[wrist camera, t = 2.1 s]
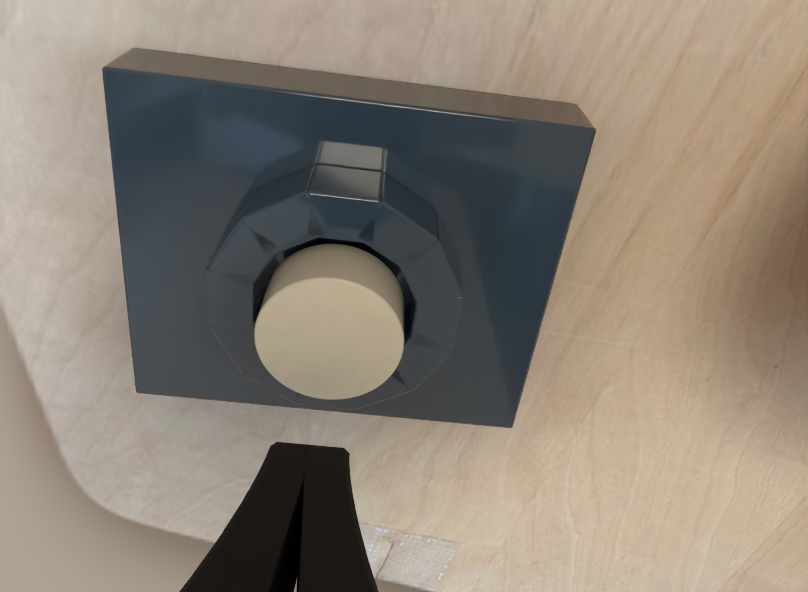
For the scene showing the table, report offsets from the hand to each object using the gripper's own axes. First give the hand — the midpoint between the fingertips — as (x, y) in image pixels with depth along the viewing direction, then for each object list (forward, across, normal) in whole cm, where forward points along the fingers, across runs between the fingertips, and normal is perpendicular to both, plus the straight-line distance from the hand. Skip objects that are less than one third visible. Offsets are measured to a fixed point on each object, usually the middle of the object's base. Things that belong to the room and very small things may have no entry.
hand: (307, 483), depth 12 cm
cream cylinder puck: (+6, 0, 0) cm, 6 cm away
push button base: (+10, 0, 0) cm, 10 cm away
